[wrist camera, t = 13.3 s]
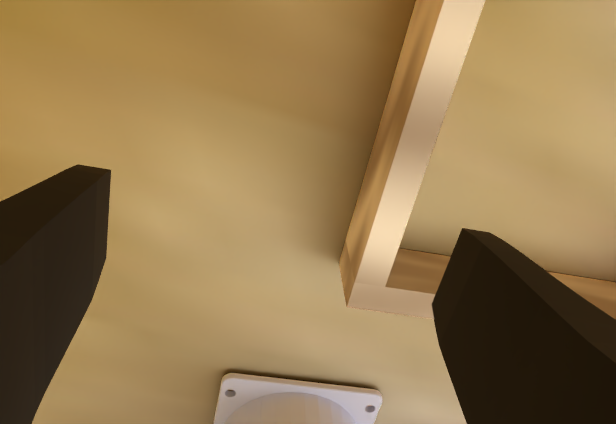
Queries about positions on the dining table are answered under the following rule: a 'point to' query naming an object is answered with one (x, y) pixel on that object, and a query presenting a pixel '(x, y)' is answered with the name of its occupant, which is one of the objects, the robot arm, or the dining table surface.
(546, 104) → the dining table surface
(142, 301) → the dining table surface
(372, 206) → the wooden tray
